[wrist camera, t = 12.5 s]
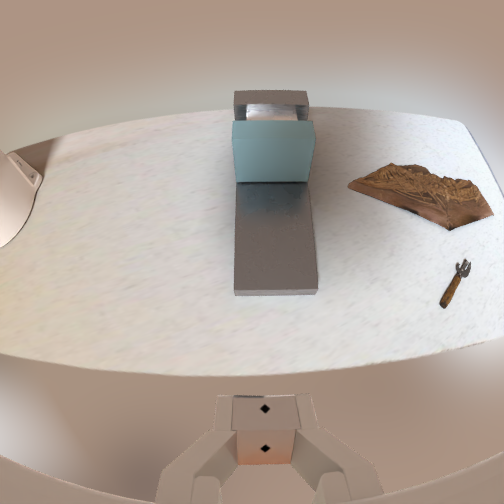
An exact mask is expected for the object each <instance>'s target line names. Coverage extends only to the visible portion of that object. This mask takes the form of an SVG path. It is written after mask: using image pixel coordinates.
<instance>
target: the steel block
mask: <svg viewBox="0 0 504 504" xmlns="http://www.w3.org/2000/svg"><path fill="white" fill-rule="evenodd" d="M248 120H297V121H298V119H297V113H296V111H281V110H262V111H247V121H248Z"/></svg>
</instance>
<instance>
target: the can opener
mask: <svg viewBox="0 0 504 504" xmlns="http://www.w3.org/2000/svg"><path fill="white" fill-rule="evenodd" d="M468 263H469V262H468V261H467V260H465V263H464V265H462V267H461V269H459V265H460V264H457V272H458V274H457V275H456V276H455V277H454V279H453V281H452V283H451V285H450V287H449V288H448V290H447V291H446V293H445V295H444V296H443V298H442V300H441V302H440V306H441V307H442V308H444V309H445V308H446V307H447V306H448V304H449V303H450V301H451V299H452V297H453V295H454V293H455V290H456V288H457V286H458V285H459V283H460V281H461V277H464V278H466V277H467V276H468V275H469V272H470V269H471V261H470V263H469V265H468ZM467 265H468V267H467V269H466V270H465V268H466V266H467Z"/></svg>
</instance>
